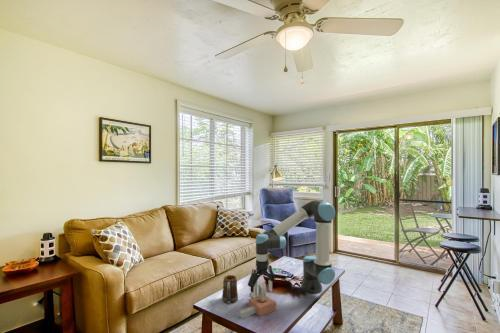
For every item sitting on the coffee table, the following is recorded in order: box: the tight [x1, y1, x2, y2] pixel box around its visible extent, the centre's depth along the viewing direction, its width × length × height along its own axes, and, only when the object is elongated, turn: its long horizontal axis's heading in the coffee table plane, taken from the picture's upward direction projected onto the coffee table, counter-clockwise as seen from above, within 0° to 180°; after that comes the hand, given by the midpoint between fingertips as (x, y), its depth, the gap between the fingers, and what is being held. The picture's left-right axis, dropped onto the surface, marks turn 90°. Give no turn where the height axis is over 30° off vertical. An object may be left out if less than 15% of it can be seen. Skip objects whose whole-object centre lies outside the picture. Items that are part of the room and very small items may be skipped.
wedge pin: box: [257, 282, 267, 304], centre depth 160 cm, size 4×3×15 cm
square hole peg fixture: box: [238, 281, 277, 319], centre depth 160 cm, size 22×17×16 cm
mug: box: [221, 274, 239, 305], centre depth 169 cm, size 16×11×15 cm
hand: (262, 293), depth 161 cm, fingers open, 13 cm apart
